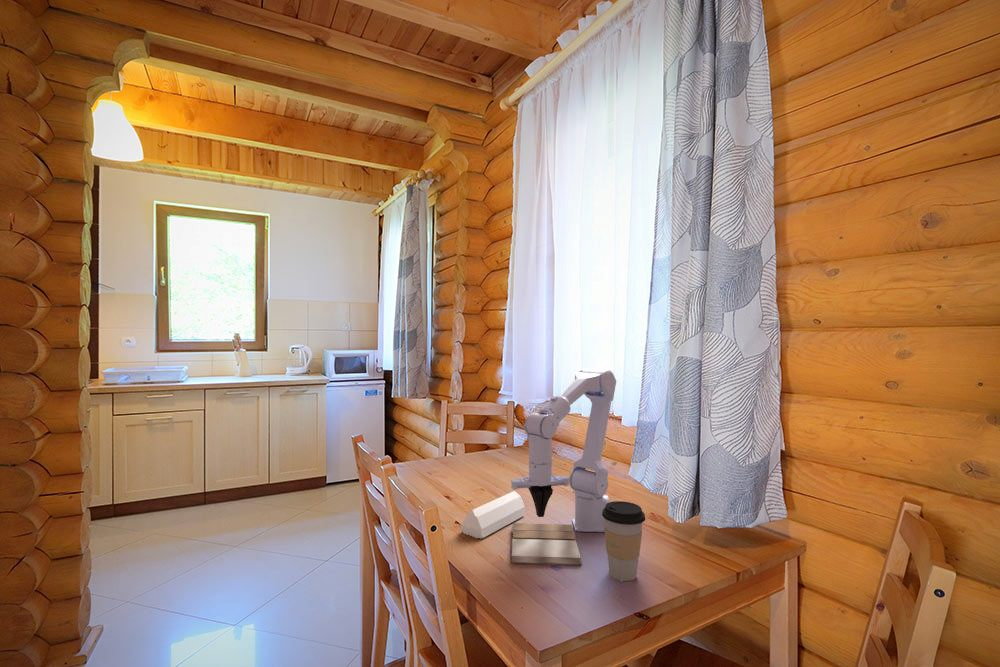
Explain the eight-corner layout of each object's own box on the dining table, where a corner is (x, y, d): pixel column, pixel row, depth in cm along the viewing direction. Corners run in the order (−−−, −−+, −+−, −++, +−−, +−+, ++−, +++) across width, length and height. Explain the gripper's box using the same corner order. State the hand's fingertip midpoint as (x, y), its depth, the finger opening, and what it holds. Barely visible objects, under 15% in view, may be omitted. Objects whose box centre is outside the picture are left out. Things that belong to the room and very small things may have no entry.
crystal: (483, 530, 118) (534, 503, 137) (465, 510, 122) (517, 487, 141) (472, 551, 120) (523, 522, 139) (454, 531, 124) (507, 505, 143)
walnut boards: (571, 530, 126) (571, 524, 126) (575, 544, 117) (575, 539, 117) (512, 528, 127) (513, 523, 127) (512, 543, 118) (512, 537, 118)
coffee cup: (593, 574, 104) (593, 506, 104) (615, 560, 110) (616, 497, 110) (631, 590, 97) (631, 518, 97) (652, 574, 103) (653, 507, 104)
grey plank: (575, 546, 116) (575, 540, 116) (580, 564, 107) (580, 557, 107) (512, 544, 117) (512, 538, 117) (511, 562, 108) (511, 555, 108)
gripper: (562, 455, 122) (561, 507, 122) (508, 458, 119) (508, 511, 119) (571, 463, 115) (571, 517, 115) (515, 466, 112) (515, 522, 112)
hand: (540, 515), depth 116 cm, fingers closed
